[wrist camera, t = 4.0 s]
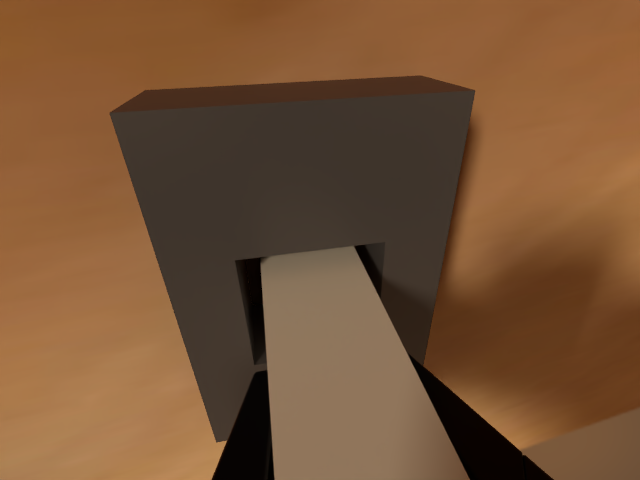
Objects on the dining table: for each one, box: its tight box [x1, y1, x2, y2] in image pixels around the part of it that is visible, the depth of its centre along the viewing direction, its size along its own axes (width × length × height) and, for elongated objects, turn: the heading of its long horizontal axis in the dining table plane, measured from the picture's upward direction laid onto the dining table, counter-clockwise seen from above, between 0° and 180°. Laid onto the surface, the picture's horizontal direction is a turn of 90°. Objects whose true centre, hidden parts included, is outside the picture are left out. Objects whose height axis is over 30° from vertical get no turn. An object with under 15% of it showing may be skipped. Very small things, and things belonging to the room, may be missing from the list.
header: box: [110, 76, 475, 442], centre depth 12 cm, size 12×8×3 cm, turn 2°
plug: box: [260, 246, 470, 480], centre depth 9 cm, size 3×3×9 cm
